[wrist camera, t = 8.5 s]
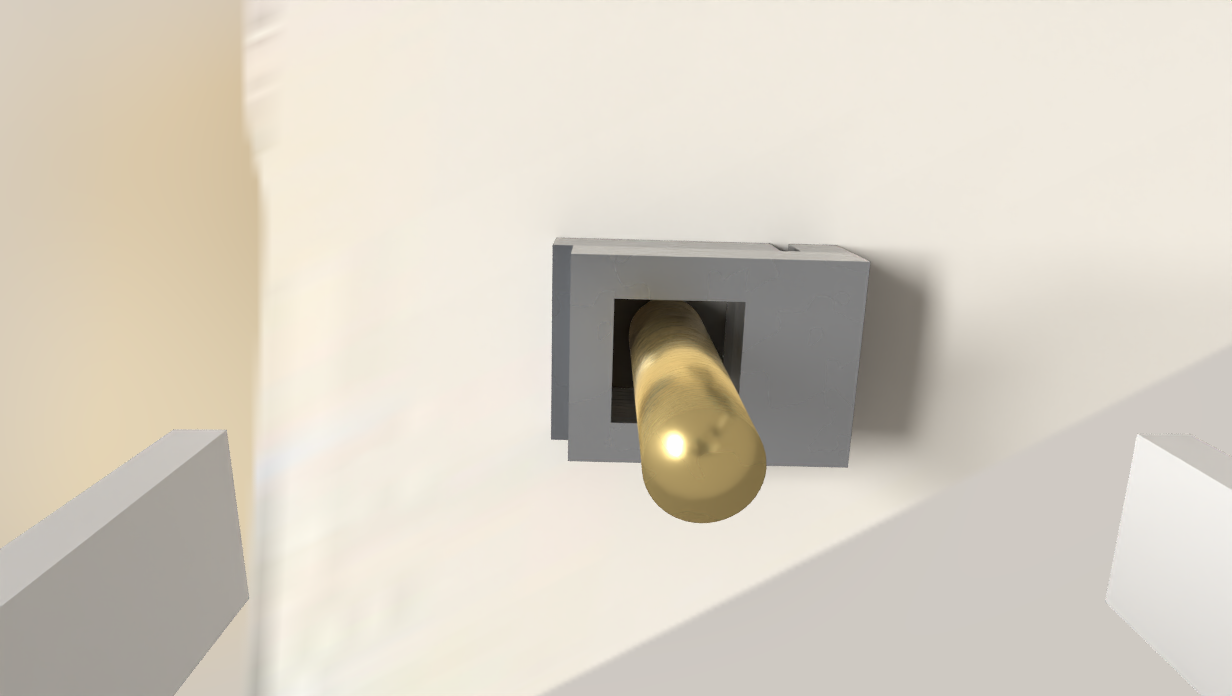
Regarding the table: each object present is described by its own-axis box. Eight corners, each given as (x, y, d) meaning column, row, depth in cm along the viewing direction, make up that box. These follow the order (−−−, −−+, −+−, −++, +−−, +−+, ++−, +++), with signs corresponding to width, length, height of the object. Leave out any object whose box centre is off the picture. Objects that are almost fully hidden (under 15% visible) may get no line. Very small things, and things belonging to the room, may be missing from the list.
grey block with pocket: (554, 420, 35) (547, 460, 31) (556, 237, 33) (548, 253, 29) (818, 427, 35) (847, 467, 31) (836, 245, 33) (870, 261, 29)
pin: (706, 298, 34) (771, 409, 20) (701, 371, 35) (762, 524, 21) (629, 296, 34) (644, 406, 20) (627, 369, 35) (640, 521, 21)
